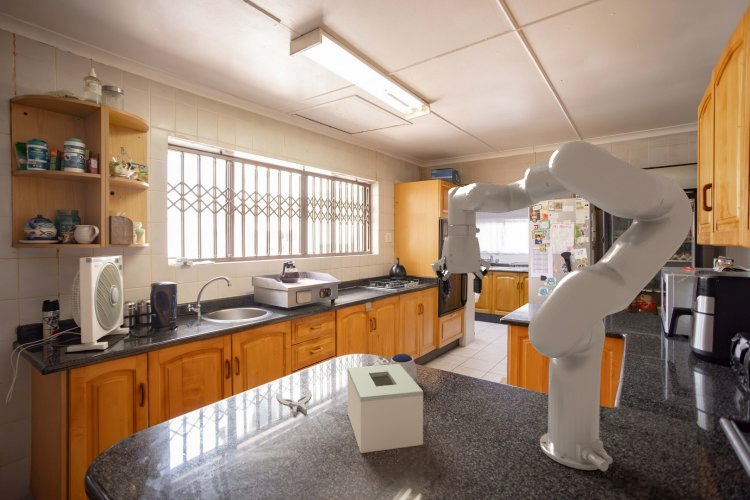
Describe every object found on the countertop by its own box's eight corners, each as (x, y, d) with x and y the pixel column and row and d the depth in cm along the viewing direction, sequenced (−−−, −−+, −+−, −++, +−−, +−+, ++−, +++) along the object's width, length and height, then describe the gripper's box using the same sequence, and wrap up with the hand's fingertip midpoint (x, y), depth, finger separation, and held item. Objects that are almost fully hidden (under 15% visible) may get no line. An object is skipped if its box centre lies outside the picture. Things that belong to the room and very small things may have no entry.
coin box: (422, 444, 80) (423, 391, 80) (360, 453, 77) (360, 397, 77) (399, 407, 98) (399, 363, 97) (347, 413, 94) (347, 367, 94)
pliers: (309, 385, 110) (319, 407, 95) (309, 390, 110) (319, 413, 95) (275, 390, 106) (280, 413, 92) (275, 395, 106) (280, 419, 92)
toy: (345, 356, 116) (401, 344, 123) (347, 384, 116) (403, 371, 124) (364, 376, 99) (428, 361, 106) (367, 409, 99) (430, 392, 107)
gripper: (483, 232, 106) (482, 290, 106) (427, 232, 102) (427, 292, 103) (497, 232, 99) (496, 294, 99) (437, 231, 95) (437, 296, 95)
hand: (461, 293), depth 101 cm, fingers open, 9 cm apart
